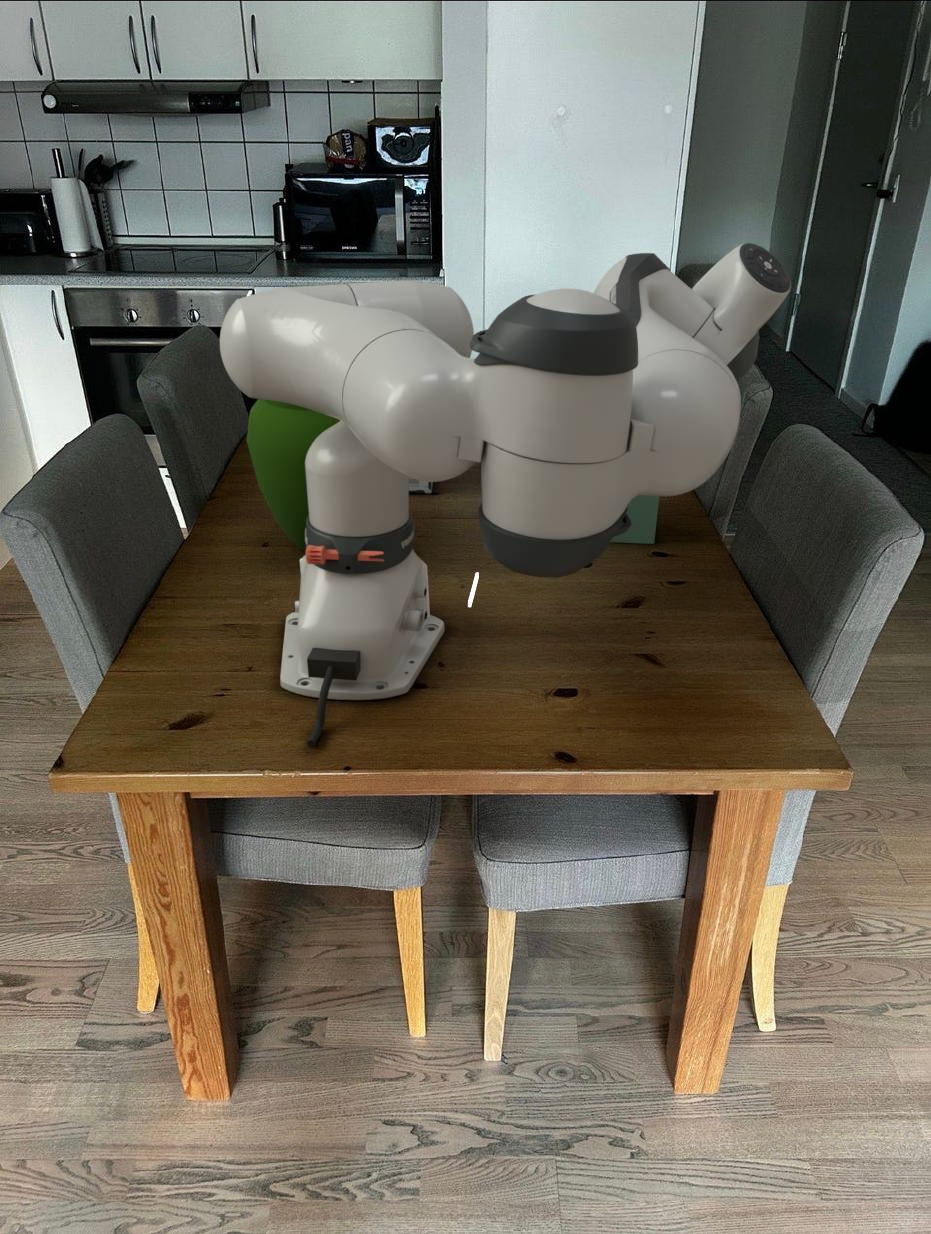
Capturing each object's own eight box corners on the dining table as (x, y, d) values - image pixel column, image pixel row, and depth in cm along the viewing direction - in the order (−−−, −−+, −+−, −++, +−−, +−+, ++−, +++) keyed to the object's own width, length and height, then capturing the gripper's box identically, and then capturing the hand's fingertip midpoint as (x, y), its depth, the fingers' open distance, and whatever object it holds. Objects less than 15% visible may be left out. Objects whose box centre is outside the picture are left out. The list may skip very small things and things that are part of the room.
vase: (376, 582, 123) (369, 396, 111) (235, 568, 127) (213, 386, 115) (413, 523, 140) (410, 357, 128) (288, 512, 143) (273, 349, 131)
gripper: (627, 382, 111) (575, 439, 123) (758, 361, 120) (697, 417, 132) (608, 335, 112) (557, 396, 124) (738, 318, 121) (679, 377, 133)
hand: (630, 407), depth 128 cm, fingers open, 8 cm apart
